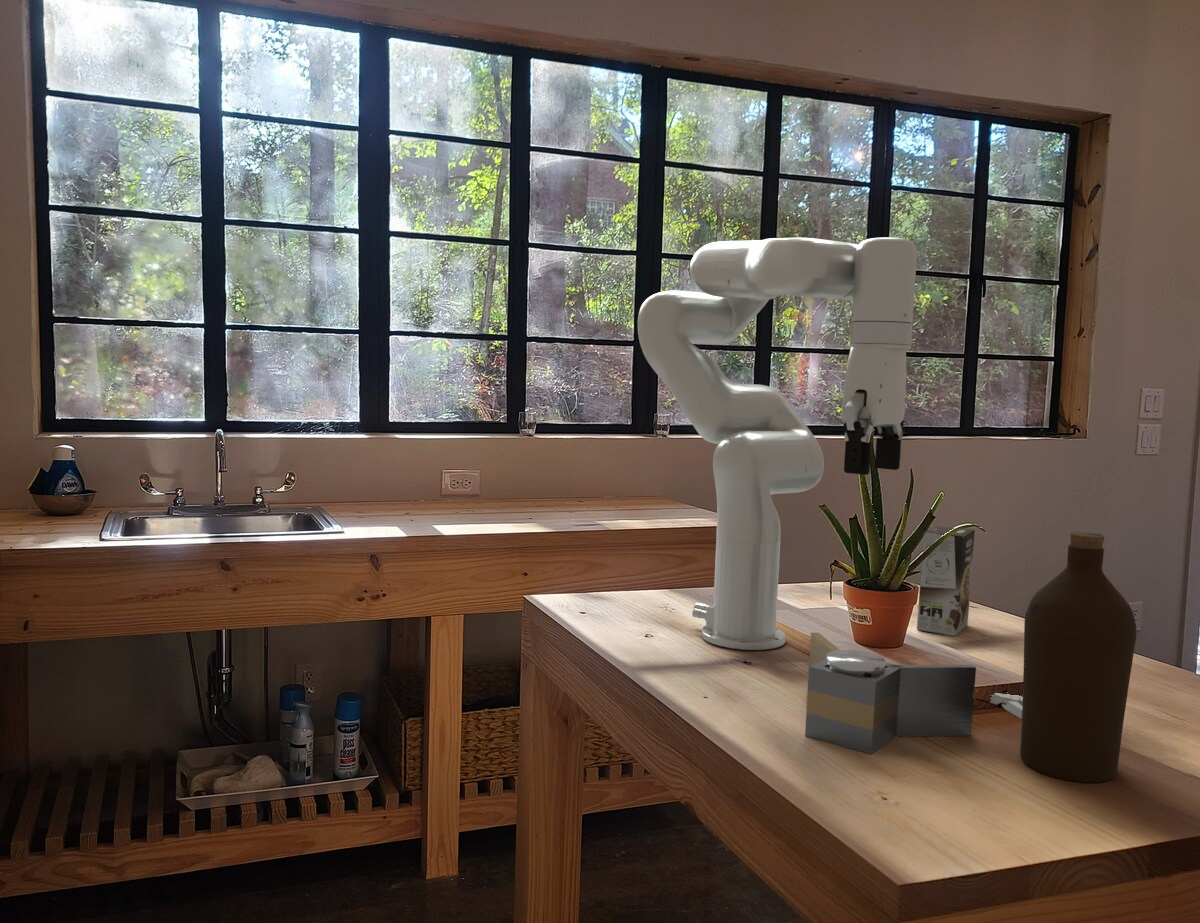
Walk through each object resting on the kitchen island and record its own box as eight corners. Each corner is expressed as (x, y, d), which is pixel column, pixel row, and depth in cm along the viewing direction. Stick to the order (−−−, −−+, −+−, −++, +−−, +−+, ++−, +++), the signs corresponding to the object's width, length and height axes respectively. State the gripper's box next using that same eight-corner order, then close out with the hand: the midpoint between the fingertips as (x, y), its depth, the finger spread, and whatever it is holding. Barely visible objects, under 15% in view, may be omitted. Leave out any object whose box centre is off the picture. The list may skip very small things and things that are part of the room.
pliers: (996, 669, 136) (1070, 707, 121) (995, 680, 136) (1069, 719, 122) (931, 672, 134) (998, 710, 119) (930, 683, 134) (997, 723, 119)
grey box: (755, 721, 116) (758, 654, 115) (809, 692, 127) (813, 631, 126) (929, 770, 103) (934, 695, 103) (972, 733, 115) (978, 666, 114)
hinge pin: (812, 731, 112) (817, 658, 111) (836, 717, 117) (841, 646, 116) (867, 746, 108) (871, 670, 107) (889, 730, 113) (894, 657, 112)
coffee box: (956, 637, 157) (964, 536, 155) (915, 630, 160) (922, 531, 159) (969, 625, 164) (976, 529, 163) (929, 619, 168) (936, 524, 166)
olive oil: (1084, 794, 99) (1106, 546, 97) (993, 756, 108) (1010, 528, 105) (1144, 774, 105) (1166, 539, 102) (1052, 740, 114) (1070, 523, 111)
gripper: (879, 340, 136) (871, 464, 137) (823, 334, 122) (815, 472, 124) (933, 340, 131) (924, 469, 133) (882, 335, 118) (873, 478, 119)
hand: (872, 471), depth 128 cm, fingers open, 9 cm apart
